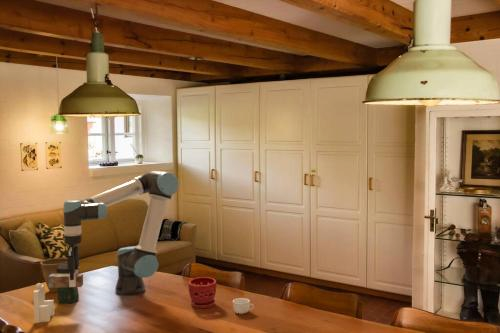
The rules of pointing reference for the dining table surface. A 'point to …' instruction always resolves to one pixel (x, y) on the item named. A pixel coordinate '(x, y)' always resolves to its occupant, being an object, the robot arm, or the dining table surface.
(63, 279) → the rail
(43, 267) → the plant pot
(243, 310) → the teacup
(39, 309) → the cream u-shaped bracket
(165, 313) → the dining table surface
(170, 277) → the dining table surface
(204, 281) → the plant pot
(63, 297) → the coffee jar
